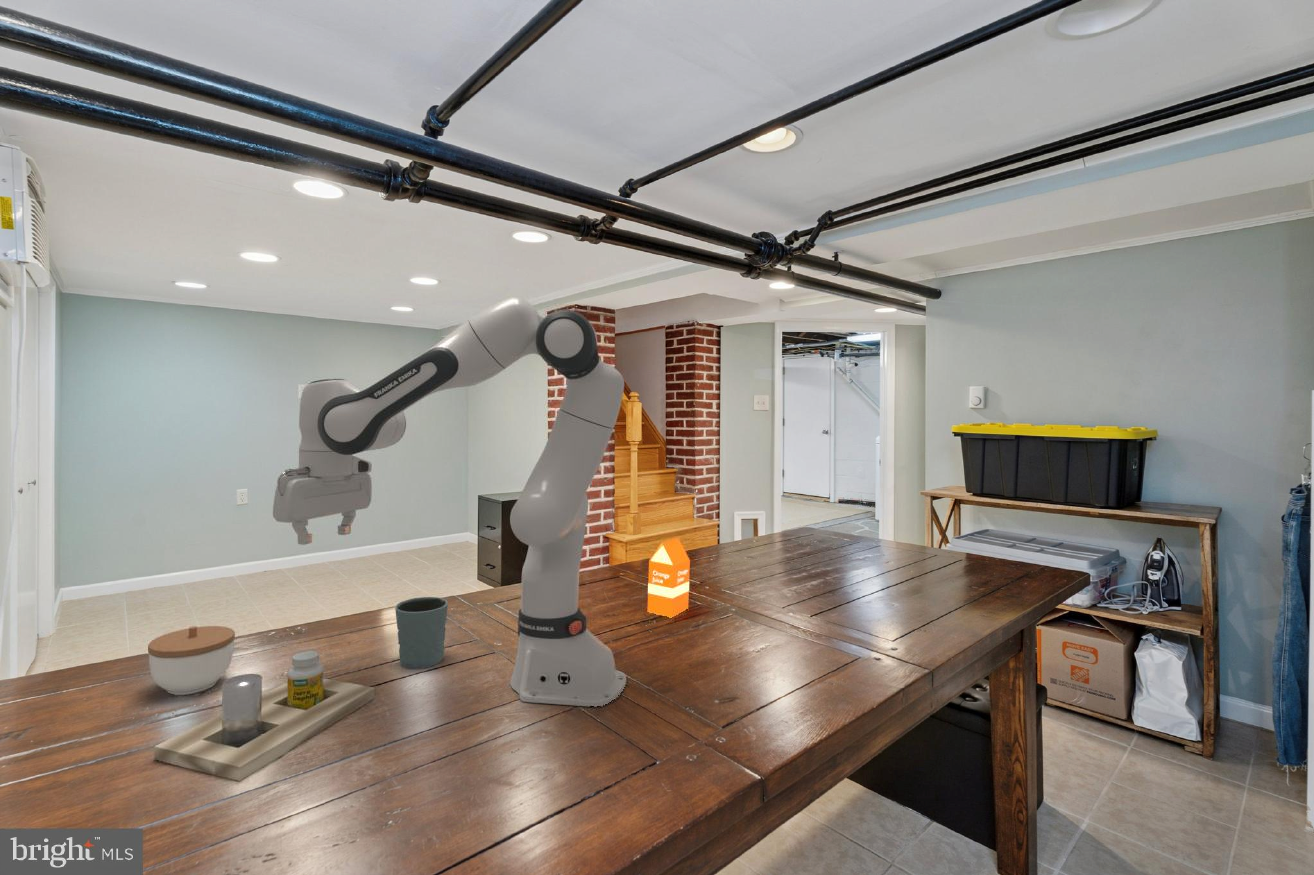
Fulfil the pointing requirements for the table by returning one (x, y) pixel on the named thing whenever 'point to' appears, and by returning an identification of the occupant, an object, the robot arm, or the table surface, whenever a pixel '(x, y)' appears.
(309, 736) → the pin board
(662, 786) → the table surface
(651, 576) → the orange juice
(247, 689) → the steel pin
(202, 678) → the lidded bowl
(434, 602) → the blue-grey cup
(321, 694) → the supplement bottle
